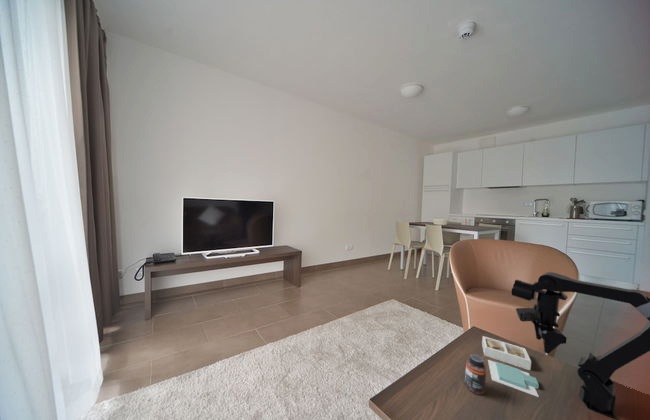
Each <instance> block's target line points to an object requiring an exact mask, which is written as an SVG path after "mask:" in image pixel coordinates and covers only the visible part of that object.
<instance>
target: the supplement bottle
mask: <svg viewBox="0 0 650 420" xmlns="http://www.w3.org/2000/svg"><path fill="white" fill-rule="evenodd" d="M464 374H465V377H464V385H465V387H466V388H467V390H469V391H470V392H472V393H474V394H476V395H483V394H484V393H485V390H486V379H487V366H486V365H485V361H484V358H483V357H481V356H480V355H478V354H475V353H471V354H470V355H469V358H468V359H466V363H465V373H464Z"/></svg>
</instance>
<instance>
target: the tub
mask: <svg viewBox="0 0 650 420" xmlns="http://www.w3.org/2000/svg"><path fill="white" fill-rule="evenodd" d="M487 340H488V341H495V342H498V343H499V344H500V345H501V346H502V347H503V352H502V351H499V350H496V349H493V348H489V347H487ZM481 346H482V351H483V356H485V357H487V358H491V359H494V360H497V361H499V362H504V363H506V364H510V365H512V366H516V367H517V368H518V367H519V368H521V369H525V370H527V371H531V368H532V359H531V358H530V356H529V353H528V352H527V350H526V348H525V347H521V346H518V345H515V344H511V343H508V342H506V341H505V342H504V341H501V340H499V339H498V340H497V339H495V338H492V337H488V336H484V335H482V338H481ZM512 348H516V349H520V350H521V351H522V352H523V354H524V357H523V358H522V357H519V356H515V355H512V354H509V353H508V351H511V352H512Z"/></svg>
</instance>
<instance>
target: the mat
mask: <svg viewBox="0 0 650 420" xmlns="http://www.w3.org/2000/svg"><path fill="white" fill-rule="evenodd" d="M496 362H497V361H494V360H490V359H487V364H488V367H489V372H490V377H491V381H493V382H496V383H498V384H501V385H505V386H507V387H510V388H512V389H516V390H518V391H521V392H523V393H526V394H528V395H532V396H534V397H537V398H539V393H538V392H537V388H534V387H531V386H529V385H526V384H525V385H526V389H523V388H521V387H518V386H515V385H512V384H510V383H507V382H504V381H501V380H499V377H498V373H497V369H496ZM520 372H521V374H525V375H528V376H531V375H530V373H529V372H526V371H523V370H520Z"/></svg>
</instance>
